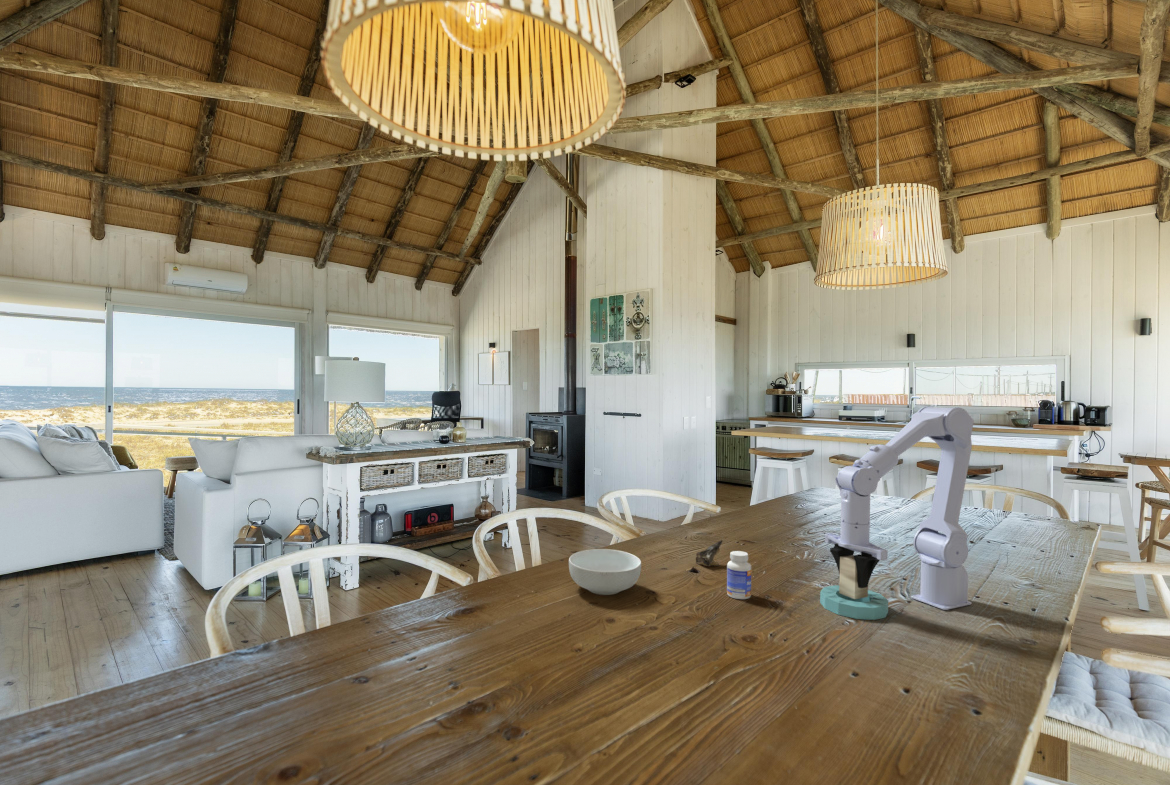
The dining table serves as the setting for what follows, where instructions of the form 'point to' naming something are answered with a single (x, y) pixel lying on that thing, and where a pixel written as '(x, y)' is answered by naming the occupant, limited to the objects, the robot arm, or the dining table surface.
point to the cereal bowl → (604, 570)
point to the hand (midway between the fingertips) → (853, 583)
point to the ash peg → (850, 579)
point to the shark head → (708, 555)
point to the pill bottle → (739, 576)
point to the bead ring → (854, 604)
